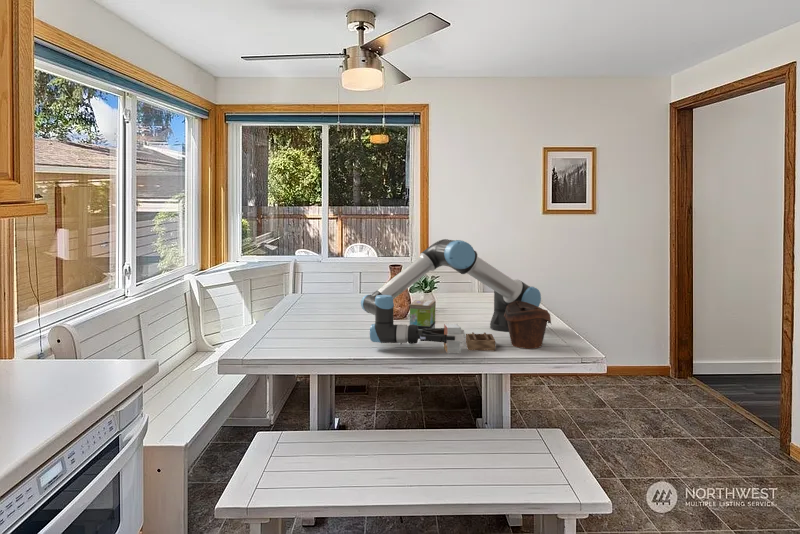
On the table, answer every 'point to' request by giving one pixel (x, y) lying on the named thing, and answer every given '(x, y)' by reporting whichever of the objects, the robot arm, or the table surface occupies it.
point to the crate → (480, 342)
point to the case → (526, 324)
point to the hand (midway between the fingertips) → (463, 335)
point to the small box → (452, 345)
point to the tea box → (422, 314)
